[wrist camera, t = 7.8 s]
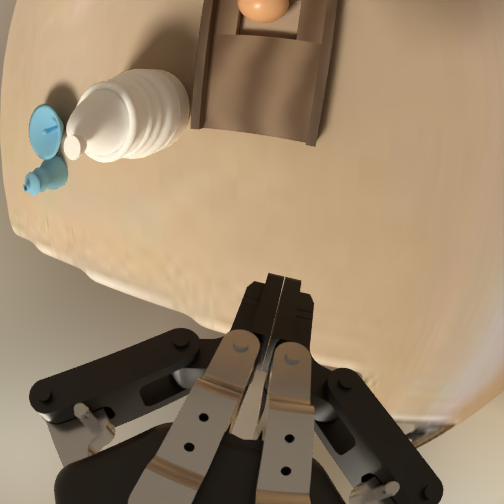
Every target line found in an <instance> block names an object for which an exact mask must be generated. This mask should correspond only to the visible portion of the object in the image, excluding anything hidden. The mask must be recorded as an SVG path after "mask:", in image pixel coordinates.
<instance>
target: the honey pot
mask: <svg viewBox="0 0 504 504" xmlns="http://www.w3.org/2000/svg"><path fill="white" fill-rule="evenodd" d="M189 112H190V105H189V97H188V95H187V92H186V89H185V87H184V86H183V84H182V83H181V81H180V80H179V79H178V78H177V77H175V76H174V75H173V74H171V73H169V72H166V71H164V70H157V69H132V70H128V71H125V72H122V73H120V74H118V75H117V76H115V77H114V78H112V79H109V80H107V81H102V82H99V83H96V84H94V85H92V86H91V87H90V88H88V89H87V90H86V91H85V92H84V94H83V95H82V96H81V98H80V100H79V102H78V104H77V106H76V108H75V110H74V111H73V113H72V114H71V116H70V118H69V120H68V123H67V127H66V132H67V136H68V137H67V138H66V139H65V141H64V151H65V154H66V156H67V157H68V158H69V159H71V160H75V159H77V158H79V157H80V156H81V155H82V154H83V153H84V152H85V153H86V154H87V155H88V156H89V157H91V158H93V159H94V160H96V161H99V162H104V163H106V162H113V161H116V160H118V159H120V158H130V159H135V158H144V157H146V156H148V155H151V154H153V153H155V152H157V151H159V150H162V149H164V148H166V147H168V146H170V145H171V144H172V143H174V142H175V141H176V140H177V139H178V138H179V137H180V135H181V134H182V133H183V132H184V129H185V127H186V125H187V122H188V118H189Z"/></svg>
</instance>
